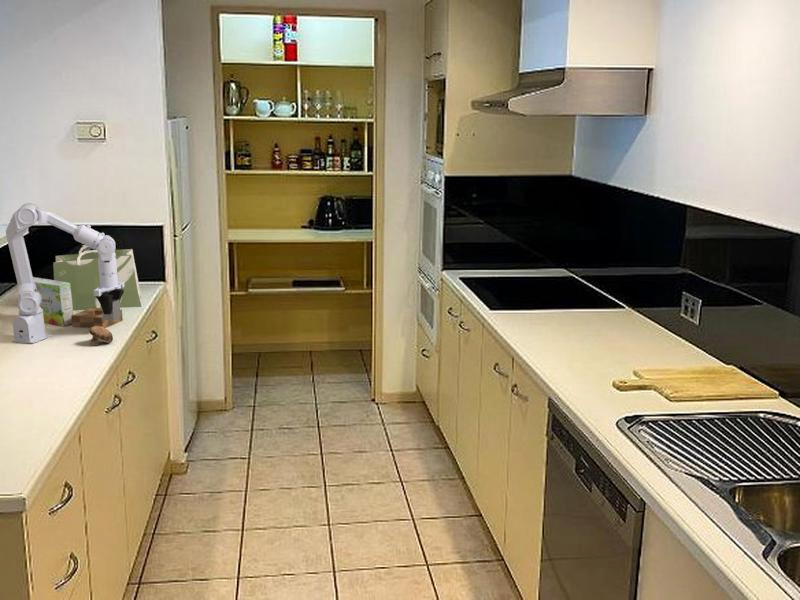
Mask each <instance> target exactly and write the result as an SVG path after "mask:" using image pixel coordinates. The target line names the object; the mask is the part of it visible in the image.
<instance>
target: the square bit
mask: <svg viewBox="0 0 800 600" xmlns="http://www.w3.org/2000/svg"><path fill="white" fill-rule="evenodd" d="M120 310H121V308H120V300H119V299H112V301H111V313H110V314H109V315H108V314H104V313H103V320H107V321H115V320H118V319H120V318H121V316H120Z"/></svg>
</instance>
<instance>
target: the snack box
mask: <svg viewBox="0 0 800 600" xmlns="http://www.w3.org/2000/svg"><path fill="white" fill-rule="evenodd" d="M33 280H34V283H35V285H36V288H37V291H38V292H39V293H40V294H41V296H42V302H41V304H40V305H39V306H40V307H41V308H42V309H43V316H44V325H45V324H46V325H51V326H55V327H60V326H61V328H64V327H68V326H70V325H71V326H72V318H71V316H72V315H74V310H73V306H72V296H71V286H70V283H68V282H61V281H55V280H54V279H48V278H41V277H35V276H33Z"/></svg>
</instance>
